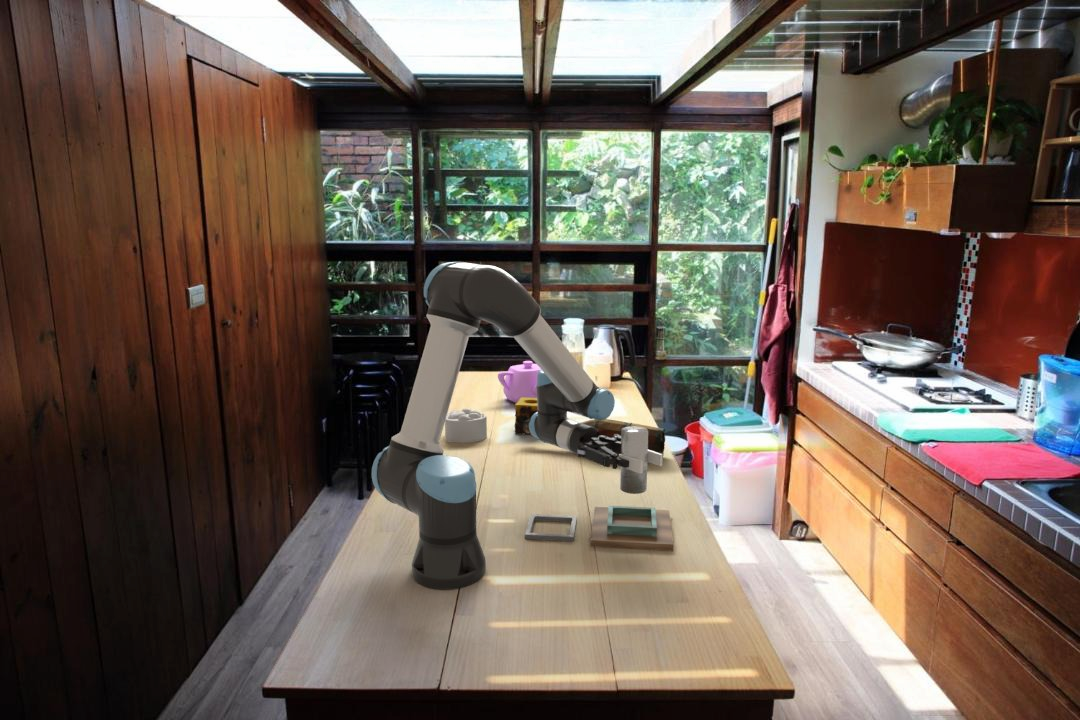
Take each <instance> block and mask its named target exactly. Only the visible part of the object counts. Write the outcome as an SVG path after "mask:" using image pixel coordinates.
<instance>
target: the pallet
mask: <svg viewBox="0 0 1080 720" xmlns="http://www.w3.org/2000/svg"><path fill="white" fill-rule="evenodd" d="M593 510H594V511H593V518H592V526H591V535H590V547H594V548H595V547H598V548H601V547H602V548H616V549H633V550H649V551H651V550H653V551H654V550H655V551H668V552H670V551H672V552H673V551H674V539H673V532H672V523H671V514H670V510H669V509H656V507H648V506H647V507H645V506H626V505H621V506H620V505H608V506H607V507H606V506H594V509H593Z"/></svg>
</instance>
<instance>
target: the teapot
mask: <svg viewBox="0 0 1080 720" xmlns="http://www.w3.org/2000/svg"><path fill="white" fill-rule="evenodd" d="M540 370H541V368H540V367H539V366H538V365H537V364H536V363H534V361H532V360H525V361H522V364H516V365H512V366H511V365H510V367H509V368H508V370H507V371H500V372H498V374H497V379H498V382H499V383H500V385H502V387H503V390H502V391H503V393H504V396H505V397H506V398H507V400H509V401H510V402H513V403H515V404H516V403H517V402H518V401H519V400H520V398H521V397H526V398H537V387H536V385H537V373H538V372H539V371H540Z"/></svg>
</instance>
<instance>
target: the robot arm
mask: <svg viewBox="0 0 1080 720" xmlns="http://www.w3.org/2000/svg"><path fill="white" fill-rule="evenodd" d="M423 298H424V299H425V303H426V305H427V306H428V308H427V313H426V318H427V319H428V321H429V324H430V327H429V331H428V334H427V337H426V341H425V345H424V349H423V352H422V357H421V358H420V362H419V366H418V369H417V373H416V376H415V380H414V383H413V387H412V391H411V393H410V394H411V395H410V397H409V402H408V404H407V408H406V412H405V414H404V419H403V422H402V425H401V429H400V431H399V433H397V434H395V435H393V436H391V439H390V442H389V445H388V446H386V447H384V448H383V449H382V451H381V452H378V453H377V455H376V457H375V458H374V460H373V463H372V467H371V479H372V484H373V486H374V488H375V490H376V491H377V492H378V494H379V495H380V496H382V497H383V498H385V500H387V501H388V502H390V503H392V504H395V505H397V506H399V507H402V508H403V509H405V510H407V511H409V512H411V513H413V514H414V515H416V516H417V517H418V533H419V534H418V537H419V538H418V542H417V545H416V548H415V552H414V555H413V558H412V562H411V573H412V574H411V576H412V577H413V580H414V581H415V582H416V583H418V584H419V585H421V586H424V587H426V588H430V589H435V590H436V589H437V590H455V589H460V588H464V587H467V586H470V585H472V584H475V583H476V582H478V581H479V580H481V579H482V578H483V577H484V575H485V573H486V570H487V569H486V568H487V566H486V563H487V562H486V557H485V553H484V551H483V547H482V546H481V543H480V540H479V537H478V532H477V481H476V473H475V470H474V468H473V466H472V465H471V463H469V462H468V461H466V460H465V459H463V458H461V457H457V456H453V455H451V456H448V455H446V454H444V452H445V451H444V449H443V447H442V445H441V443H440V440H441V436H442V434H443V433H442V432H443V429H444V428H445V419H446V417H447V414H448V413H449V408H450V405H451V403H452V398H453V395H454V391H455V388H456V385H457V384H456V383H457V380H458V378H459V377H458V376H459V373H460V370H461V366H462V363H463V359H464V355H465V351H466V348H467V345H468V341H469V338H470V336H471V335H473V334H474V333H477V332H478V331H479V327H480V324H481V321H484V322H487V323H489V324H492V325H493V326H495V327H497V328H498V329H499V330H500V331H501V332H502V334H504V335H505V336H506V337H508V338H514V340H515V341H516V342H517V343H518V344H519V345H520V347H521V348H522V349H523V350H524V351H525V352H526V353H527V355H528V356H529V357H530V358H531V359H532V360H533V363H534V364H537V365H538V366H539V367H540V368H541V370H540V371H539V372H538V373H537V385H536V387H537V407H538V411H537V412H536V413H534V414H533V416H532V417H531V421H530V423H529V430H530V433H531V434H532V435H531V436H532V437H534V438H535V439H537V440H539V441H541V442H542V443H544V444H550V445H553V446H554V447H558V448H561V449H563V450H566V451H568V452H569V453H574V454H576V455H577V457H579V458H584V459H585V460H589V461H591V462H594V463H595V464H598V465H600V466H603V467H606V468H609V467H610V466H612V470H617V469H618V467H620V468H621V467H623V468H626V469H629V470H632V471H634V472H637V473H640V474H641V473H643V461H641V460H638V459H635V458H632V457H629V456H626V455H624V454H619V456H618V455H617V454H616V453H615V452H617V453H621V436H620V435H618V434H614V438H609V437H607V436H603V435H600V433H599V432H598V430H597V429H596V428H595V427H592V426H589V425H586V424H583V423H581V422H579V421H576V420H573V419H571V418H568V416H567V415H568V412H569V413H572V414H575V415H578V416H581V417H585V418H588V419H590V420H593V419H597V420H605V419H608V418H609V417H610V416H611V415H612V413H613V411H614V409H615V401H616V400H615V397H614V394H613V393H612V391H610V390H608V389H605V387H599V386H598V385H596V383H595V381H593V380H592V379H591V377H590V376H589V375H588V373H587V372H586V371H585V369H584V368H583V367H582V366H581V365H580V363H579V361H577V359H576V358H575V357H574V356H573V354H572V352H571V351H570V350H569V349H568V348H567V347H566V346H565V344H564V343H563V342H562V340H561V339H560V337H559V336H558V335H557V334H556V332H555V331H554V330H553V329H552V328H551V327H550V325H549V323H548V322H547V321H546V320H545V319H544V318H543V316H542V314H541V313H542V311H541V310H542V309H541V306H540V305H539V304H538V302H537V301H536V299H535V298H534V296H532V295H531V293H530V292H529V291H528V290H527V289H526V288H525V286H523V284H521V283H520V282H519V281H518V280H517V279H516V278H515V277H514V276H513V275H511V274H510V273H508V272H507V271H505V270H504V269H503V268H500V267H497V266H495V265H491V264H490V265H489V264H479V263H471V262H464V261H451V262H450V261H449V262H444V263H441V264H439V265H437V266H436V267H435V268H433V269H432V270H431V271H430V272H429V274H428V276H427V277H426V279H425V282H424V286H423ZM611 449H612V450H611ZM663 454H664V453H663ZM663 454H661V453H658V452H655V451H652V450H649V449H648V457H647V463H649V464H652V465H655V466H658V467H662V466H663V462H664V461H663V458H664V455H663Z"/></svg>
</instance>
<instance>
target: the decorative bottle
mask: <svg viewBox="0 0 1080 720" xmlns="http://www.w3.org/2000/svg"><path fill="white" fill-rule="evenodd" d="M530 421H531V419H529V420H526V421H523V424H521V425H522V428H523V430H524V432H526V434H525V435H527V433H528V434H531V433H530V430H529V423H530ZM580 423H583V424H586V425H589V426H592V427H595V428H596V429H597V430H598V432H599V433H600V435H603V436H607V437H609V438H614V434H618V435H620V436H621V429H622V428H625V427H630V426H637V427H643V428H646V429H647V430H648V449H649V450H652V451H655V452H658V453H661V454H663V456H664V454H665V453H664V452H665V446H666V444H665V442H666V428H662V427H661V428H660V427H655V426H650V425H647V424H646V425H645V424H641V423H634V422H626V421H622V420H615V419H608V418H607V419H605V420H597V419H590V420H585V421H582V422H580ZM611 450H612V449H611ZM615 453H616V454H617V455H618V457H619V454H621V453H617V452H615Z"/></svg>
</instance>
